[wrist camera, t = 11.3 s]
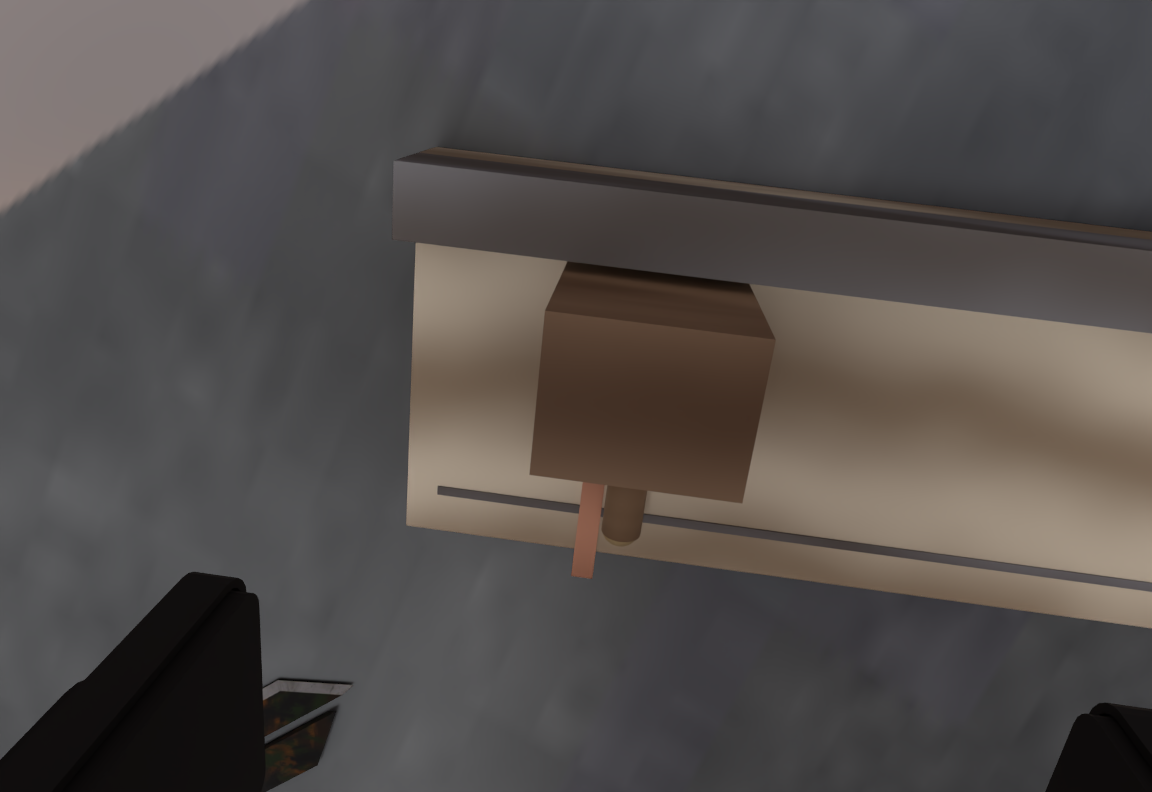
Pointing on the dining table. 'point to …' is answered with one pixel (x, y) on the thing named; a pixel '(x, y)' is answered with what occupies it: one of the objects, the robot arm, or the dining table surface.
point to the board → (809, 381)
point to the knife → (304, 742)
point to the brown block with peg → (649, 387)
